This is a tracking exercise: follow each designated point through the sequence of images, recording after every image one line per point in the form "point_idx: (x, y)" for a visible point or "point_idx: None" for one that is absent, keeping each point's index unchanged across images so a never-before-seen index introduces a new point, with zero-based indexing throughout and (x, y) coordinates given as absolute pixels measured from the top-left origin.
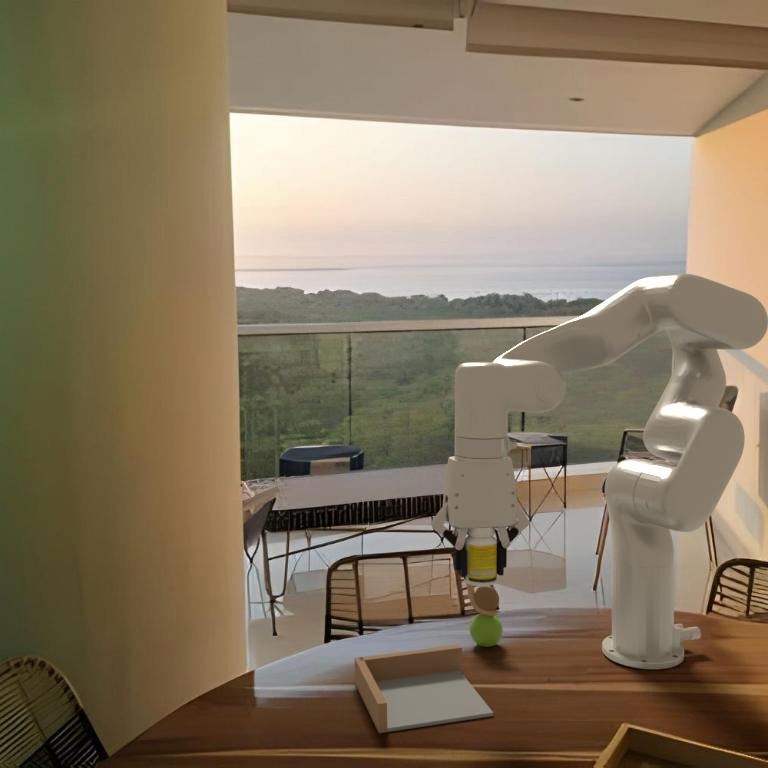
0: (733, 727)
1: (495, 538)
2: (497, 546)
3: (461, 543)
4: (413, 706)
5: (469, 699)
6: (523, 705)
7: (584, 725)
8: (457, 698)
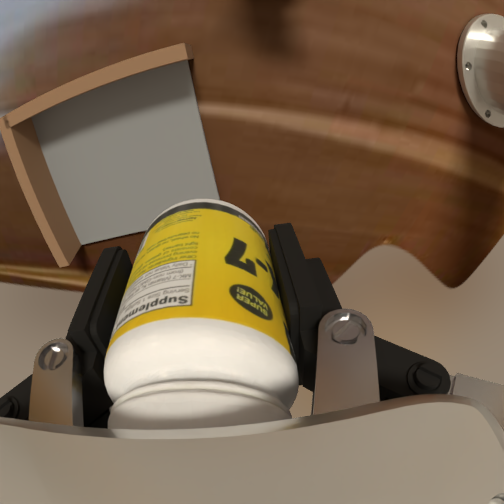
0: (468, 257)
1: (293, 400)
2: (299, 355)
3: (104, 416)
4: (105, 191)
5: (191, 172)
6: (276, 185)
7: (338, 243)
8: (171, 168)
